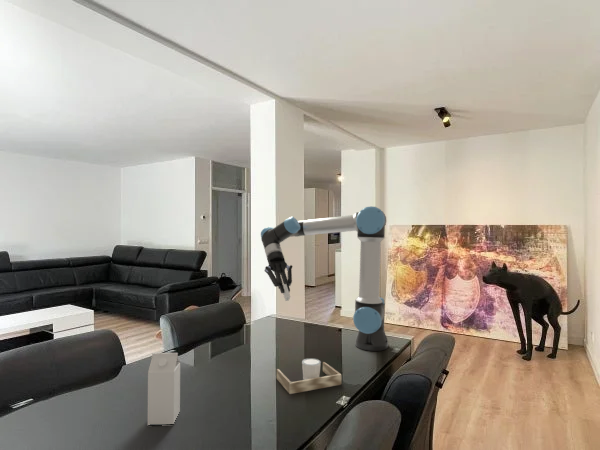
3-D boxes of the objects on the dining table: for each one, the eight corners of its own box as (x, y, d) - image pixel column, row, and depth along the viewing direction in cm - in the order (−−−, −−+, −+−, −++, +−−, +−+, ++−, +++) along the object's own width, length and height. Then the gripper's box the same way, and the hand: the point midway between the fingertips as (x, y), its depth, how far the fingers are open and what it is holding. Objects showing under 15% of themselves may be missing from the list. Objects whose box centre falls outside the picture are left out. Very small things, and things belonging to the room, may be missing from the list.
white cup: (321, 384, 128) (321, 364, 128) (302, 385, 128) (302, 365, 128) (319, 376, 135) (319, 357, 135) (301, 377, 135) (301, 358, 135)
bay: (324, 370, 141) (324, 361, 141) (341, 384, 128) (341, 374, 128) (276, 378, 133) (276, 369, 133) (289, 394, 121) (289, 383, 121)
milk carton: (155, 413, 108) (155, 349, 108) (180, 412, 108) (180, 348, 108) (147, 426, 101) (148, 357, 101) (173, 425, 101) (174, 357, 101)
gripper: (286, 260, 171) (299, 302, 155) (259, 261, 166) (270, 305, 150) (290, 249, 166) (304, 292, 151) (262, 250, 161) (275, 294, 146)
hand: (287, 298), depth 151 cm, fingers closed
